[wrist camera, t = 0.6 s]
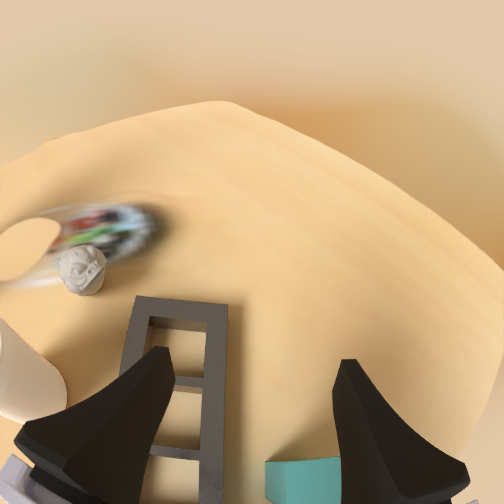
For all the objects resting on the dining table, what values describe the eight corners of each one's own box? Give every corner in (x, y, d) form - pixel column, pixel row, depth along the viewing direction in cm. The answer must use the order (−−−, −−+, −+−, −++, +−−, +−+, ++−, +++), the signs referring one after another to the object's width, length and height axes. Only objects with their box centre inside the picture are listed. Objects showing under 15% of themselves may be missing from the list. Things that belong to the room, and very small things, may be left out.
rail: (222, 534, 15) (223, 541, 13) (115, 518, 14) (106, 522, 12) (226, 316, 31) (228, 304, 29) (140, 307, 30) (136, 295, 28)
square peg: (307, 494, 19) (342, 502, 13) (265, 498, 18) (287, 511, 12) (305, 459, 21) (339, 456, 15) (265, 461, 21) (286, 462, 15)
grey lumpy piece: (98, 319, 28) (78, 283, 23) (60, 294, 29) (39, 257, 24) (126, 281, 32) (113, 242, 27) (87, 261, 33) (72, 222, 28)
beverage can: (27, 352, 23) (-31, 293, 14) (78, 377, 23) (20, 323, 14) (7, 410, 17) (-64, 369, 9) (59, 443, 18) (-14, 418, 9)
